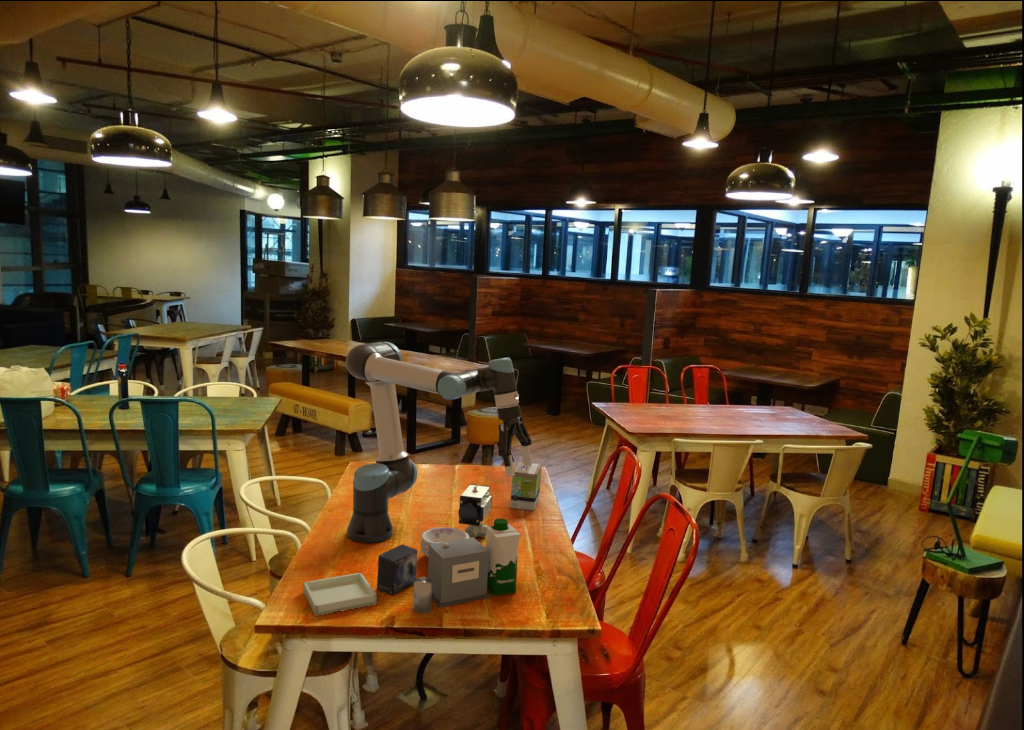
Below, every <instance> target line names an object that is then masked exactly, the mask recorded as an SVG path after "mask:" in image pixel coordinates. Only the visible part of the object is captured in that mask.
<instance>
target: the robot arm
mask: <svg viewBox="0 0 1024 730" xmlns="http://www.w3.org/2000/svg"><path fill="white" fill-rule="evenodd" d="M345 367H346V369H347V371H348V373H349V374H350V375H352V377H355V378H356V379H359V380H363V381H364V382H365V383H364V384H366V385H367V386H369V387H370V393H371V401H372V411H373V415H374V422H375V433H376V438H377V446H378V455H377V457H376V458H375V463H373V462H372V463H370V464H368V463H367V464H364V465H362V466H359V467H358V468H356V470H355V471H354V474H353V480H352V486H353V488H352V489H353V490H352V492H353V494H352V496H353V497H352V503H353V504H352V515H351V517H350V520H349V523H348V525H347V531H346V532H347V533H346V534H347V535H346V536H347V538H348V539H349V540H351V541H353V542H356V543H362V544H363V543H364V544H372V543H374V544H375V543H381V542H385V541H387V540H389V539H390V538H392V536H393V534H394V533H393V531H394V530H393V529H394V527H393V524H392V521H391V518H390V515H389V500H390V499H391V498H394V497H396V496H397V495H400V494H403V493H406V492H407V491H409V489H411V488H412V487H413V486H414V484H416V481H417V479H418V478H417V477H418V469H417V466H416V464H415V463H414V462H413V460H412V459H411V458H410V455H409V453H408V452H407V451H406V450H405V449H404V442H403V435H402V427H401V421H400V420H401V419H400V413H399V411H400V410H399V404H398V397H397V390H396V385H399V386H404V387H406V388H411V389H415V390H421V391H424V392H430V393H434V394H437V395H440V396H441V397H442V398H443V399H444V400H450V401H451V400H457V399H460V398H463V397H465V396H468V395H472V394H475V393H478V392H485V391H491V390H492V391H493V395H494V401H495V406H496V408H497V410H496V413H497V418H498V420H499V421H502V424H498V452H497V454H498V456H499V457H500V458H501V457H502V459H503V465H504V470H505V476H506V478H507V477H508V478H509V477H512V476H515V472H514V469H515V467H514V462H513V455H511V449H512V444H513V443H512V441H513V438H514V437H516V438H517V441H518V442H519V443H520V445H521V446H520V451H521V457H522V462H523V464H524V466H531V465H532V463H533V462H532V456H531V451H530V446H532V439H531V436H530V434H529V432H528V429H527V426H526V425H525V421H524V418H523V416H522V410H521V409H522V408H521V405H520V404H519V403H520V401H519V397H520V395H519V393H518V388H517V382H516V377H515V369H514V366H513V361H512V359H511V357H502V358H497V359H492V360H489V361H488V366H486V367H479V368H473V369H464V370H462V371H459V372H452V371H447V370H443V369H437V368H434V367H430V366H424V365H419V364H415V363H411V362H405V361H403V355H402V353H401V350H400V349H399V348H398V346H396V345H395V344H394V343H392V342H390V341H377V342H371V343H363V344H359V345H356V346H354V347H352V348H351V349H350V350H349V352H348V353H347V355H346V358H345Z"/></svg>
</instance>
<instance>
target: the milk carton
mask: <svg viewBox="0 0 1024 730" xmlns="http://www.w3.org/2000/svg"><path fill="white" fill-rule="evenodd" d="M508 523H509V522H508V520H507V519H505V518H496V519H494V520H493V525H490V526H488V527H486V528H487V536H486V547H485V548H486V549H487V550H489V557H488V577H487V590H488V591H490V594H491V595H493V597H495V596H502V595H509V594H515V593H517V577H518V576H517V574H518V559H519V558H518V557H519V544H520V539H521V533H519V532H518V530H517V529H516V528H515V527H513V526H512V525H511V524H508Z"/></svg>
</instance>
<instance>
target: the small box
mask: <svg viewBox="0 0 1024 730" xmlns="http://www.w3.org/2000/svg"><path fill="white" fill-rule="evenodd" d="M377 556H378V557H377V558H378V559H377V560H378V561H377V581H376V583H377V584H376V590H378V591H380V592H383V593H385V594H388V595H390V596H394V595H396V594H397V593H399V592H401V591H403V590H405V589H407V588H409V587H410V586H412V585H414V580H415V579H416V578H417V567H418V565H417V564H418V549H415V548H413V547H412V546H408V545H405V544H402V543H401V544H399V545H397V546H395V547H393V548H391V549H389V550H386V551H385V552H384V551H383V553H381V554H378V555H377Z"/></svg>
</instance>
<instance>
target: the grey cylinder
mask: <svg viewBox="0 0 1024 730" xmlns="http://www.w3.org/2000/svg"><path fill="white" fill-rule="evenodd" d="M432 585H433V580H432V579H431V578H428V576H420V577H416V579H415V580H414V584H413V602H412V610H413V612H414V613H417V614H427V613H430V612H431V611H432V608H433V607H432V606H433V599H432Z"/></svg>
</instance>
